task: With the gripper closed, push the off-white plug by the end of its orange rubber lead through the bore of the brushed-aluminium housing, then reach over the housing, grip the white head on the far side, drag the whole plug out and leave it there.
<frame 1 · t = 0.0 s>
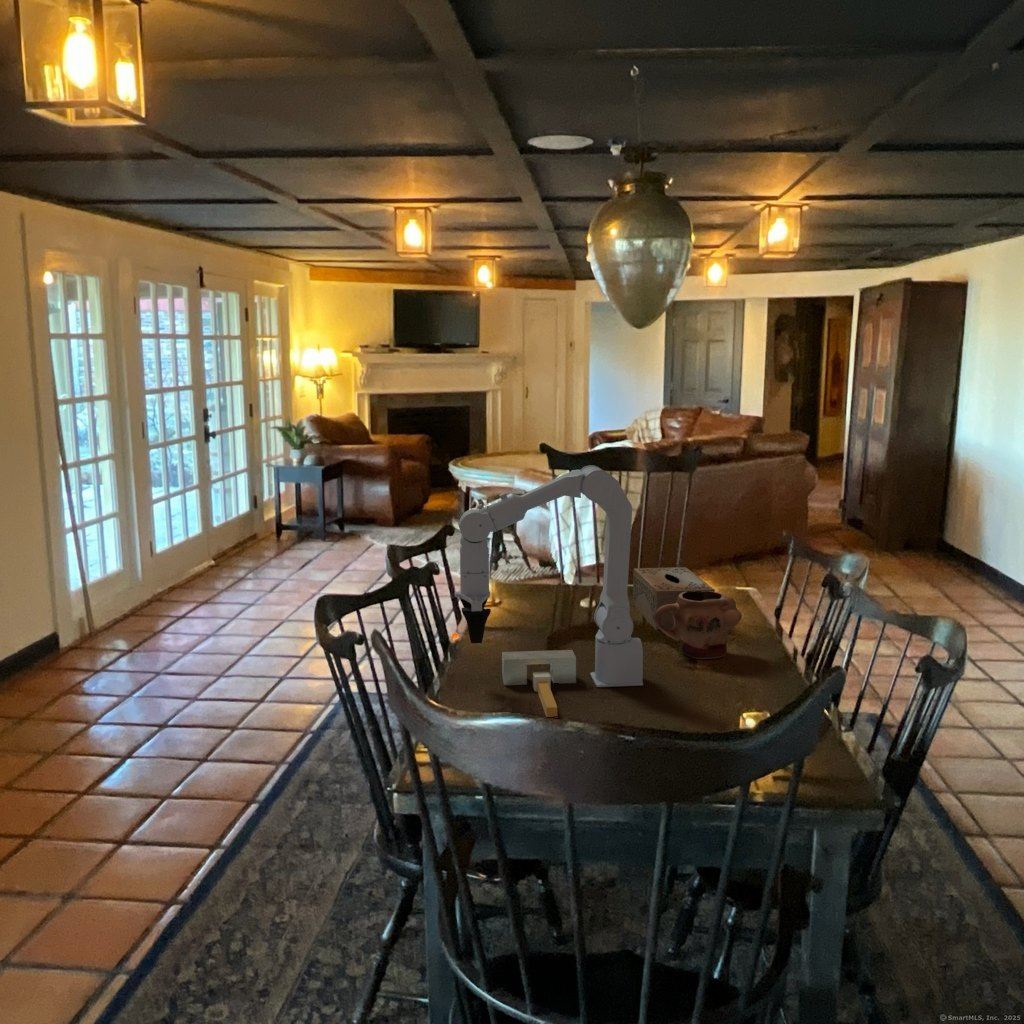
hand: (475, 637, 184), 10 cm above the table, fingers open, 7 cm apart
tissue box cover: (671, 617, 238), on the table
ceramic mug: (696, 655, 205), on the table
plug: (546, 701, 177), on the table
housing: (538, 680, 189), on the table
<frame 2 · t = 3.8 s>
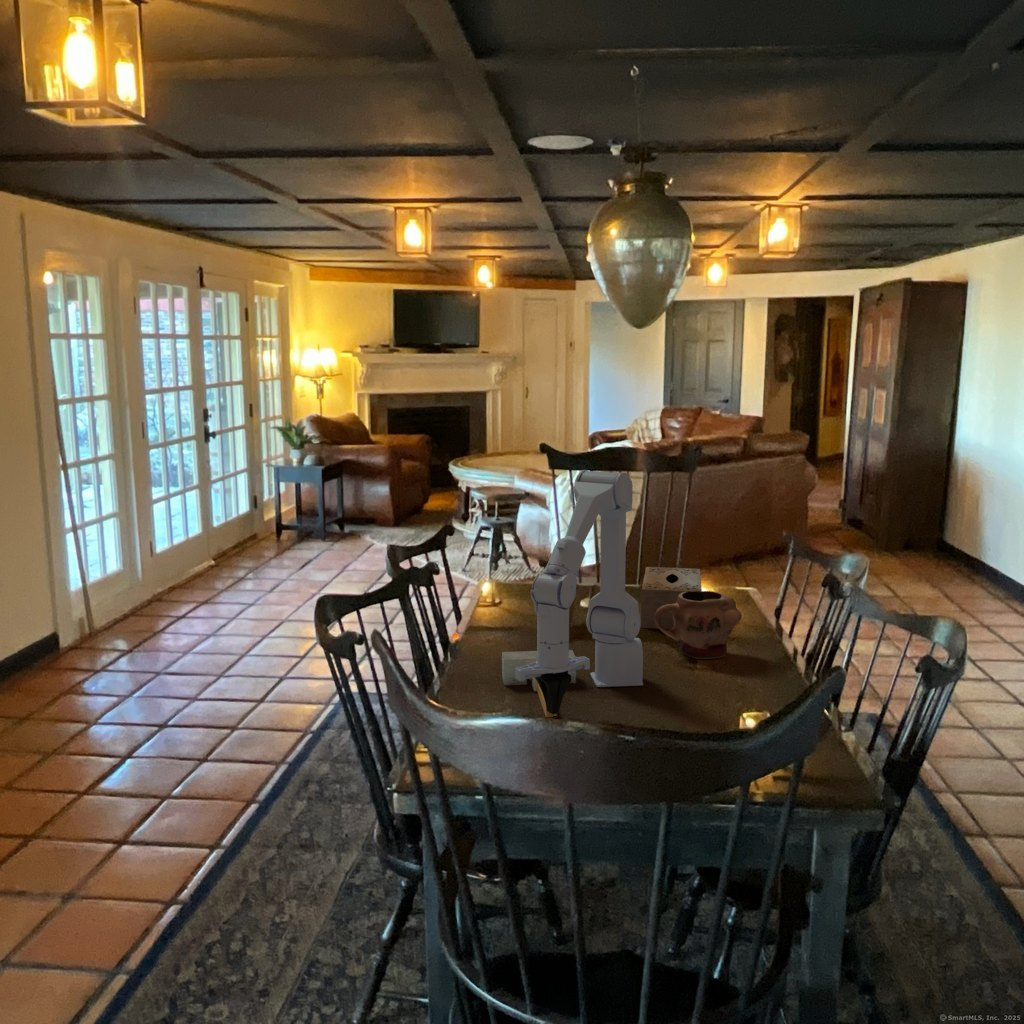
hand: (552, 712, 168), 1 cm above the table, fingers closed
plug: (545, 700, 177), on the table, touching gripper
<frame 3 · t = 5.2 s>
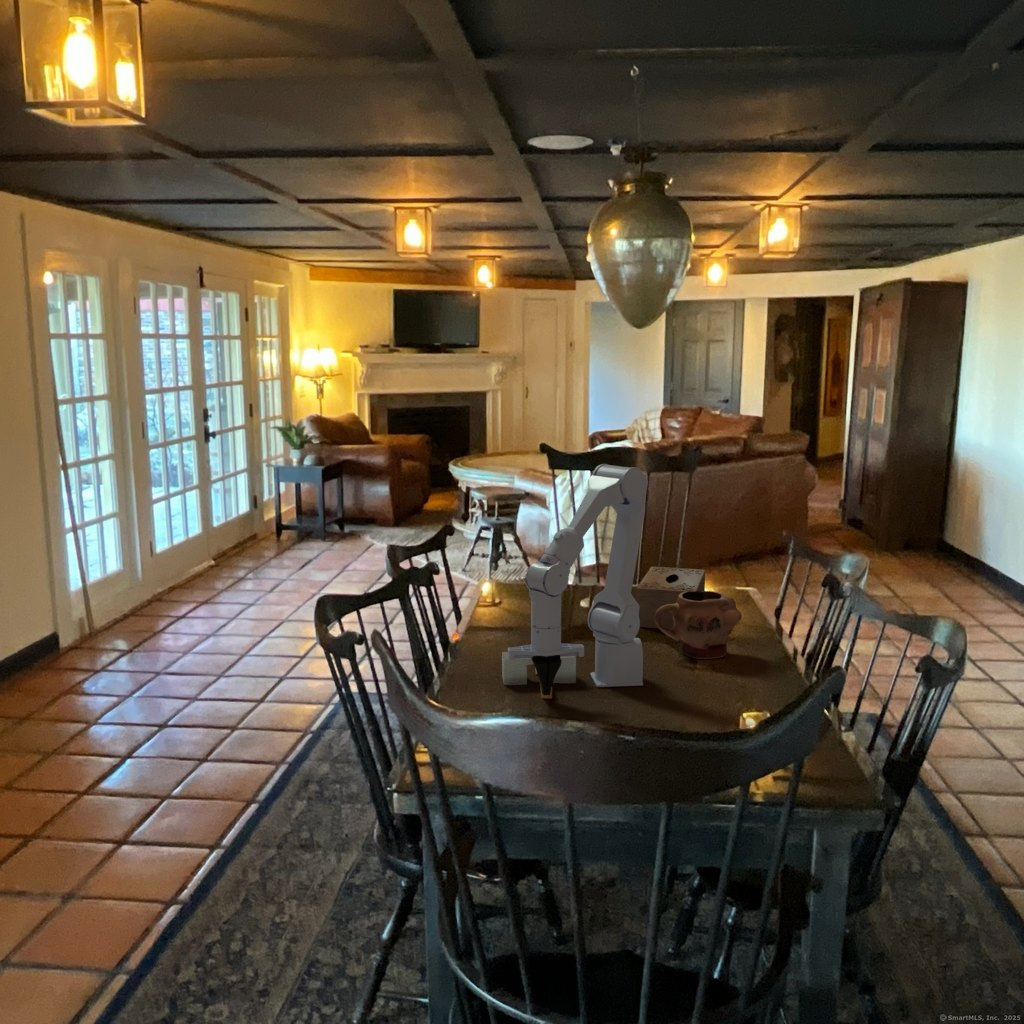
hand: (545, 693, 177), 1 cm above the table, fingers closed, pressing on plug
plug: (544, 683, 187), on the table, touching gripper
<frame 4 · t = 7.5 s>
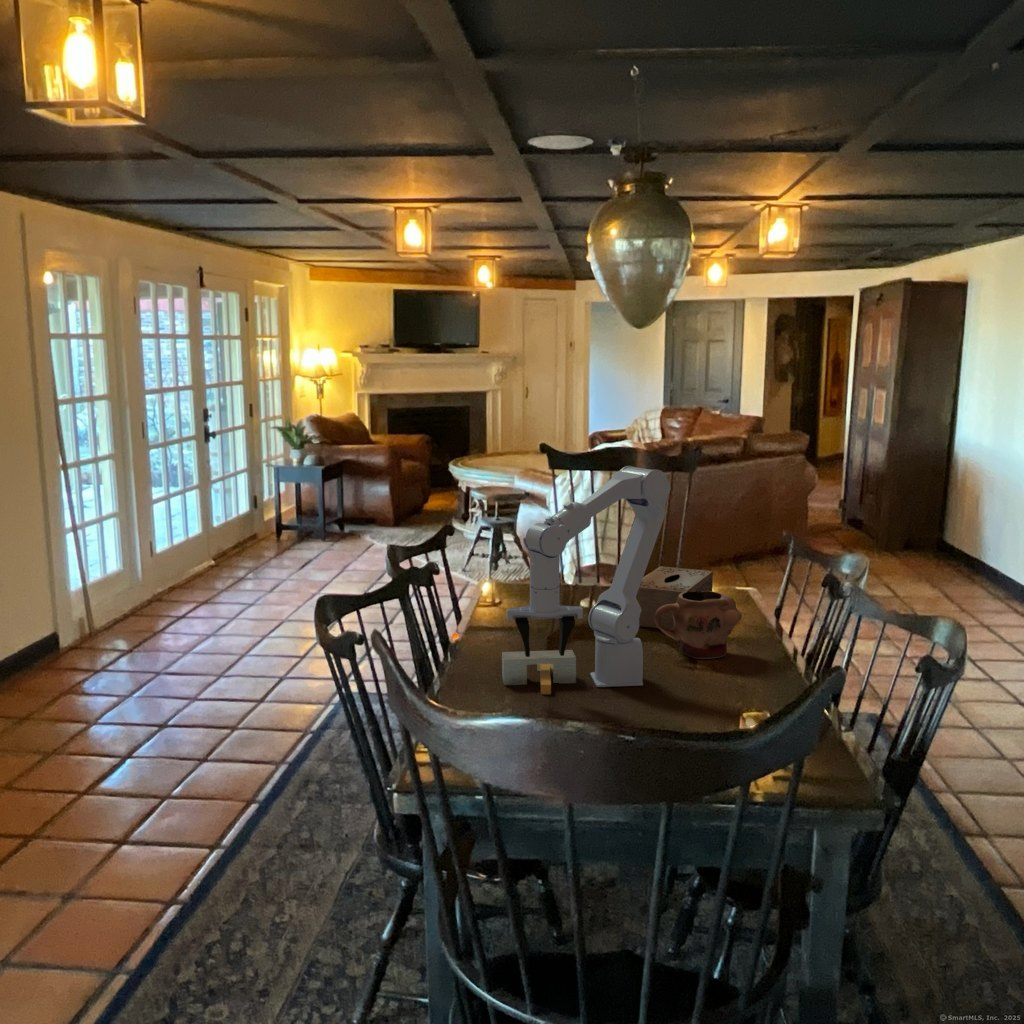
hand: (544, 654, 178), 8 cm above the table, fingers open, 6 cm apart
plug: (545, 680, 189), on the table
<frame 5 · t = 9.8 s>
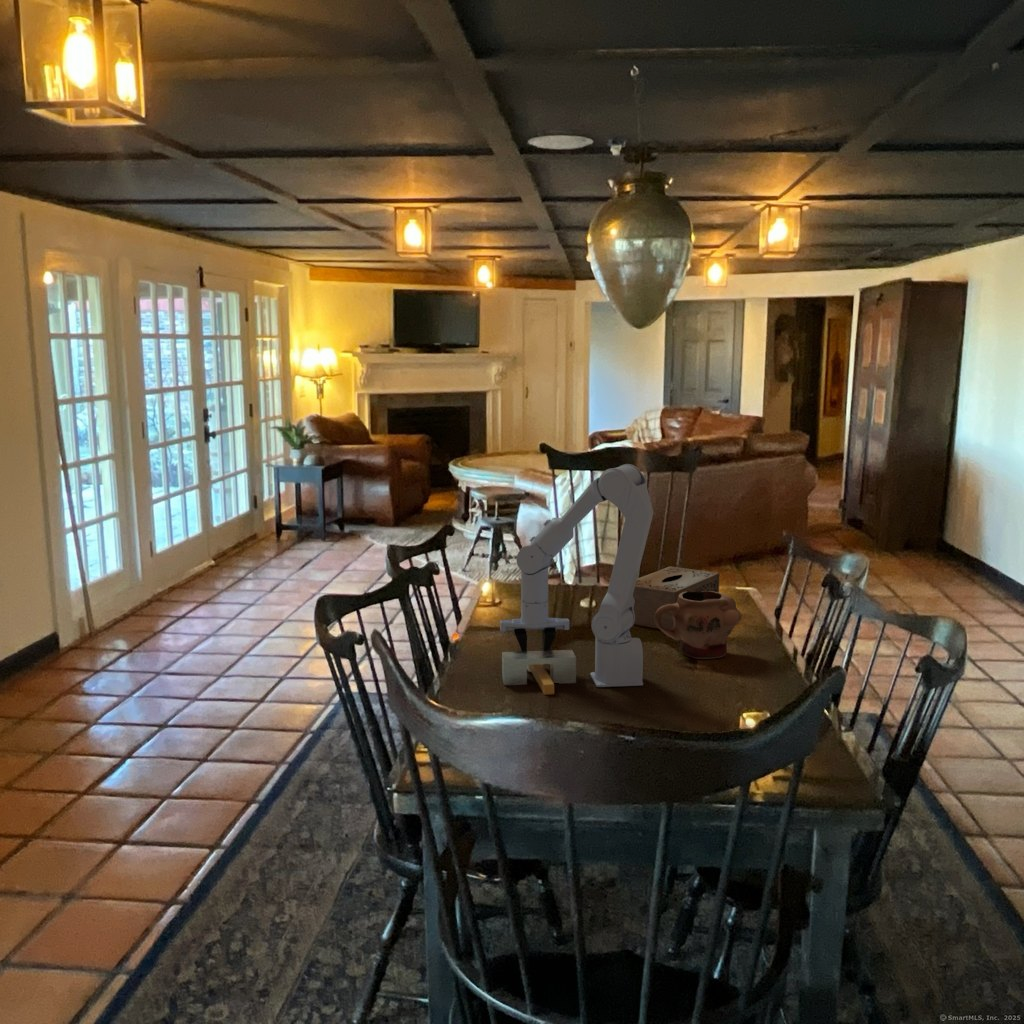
hand: (534, 662, 196), 1 cm above the table, fingers closed on plug, 3 cm apart
plug: (541, 679, 189), on the table, touching gripper
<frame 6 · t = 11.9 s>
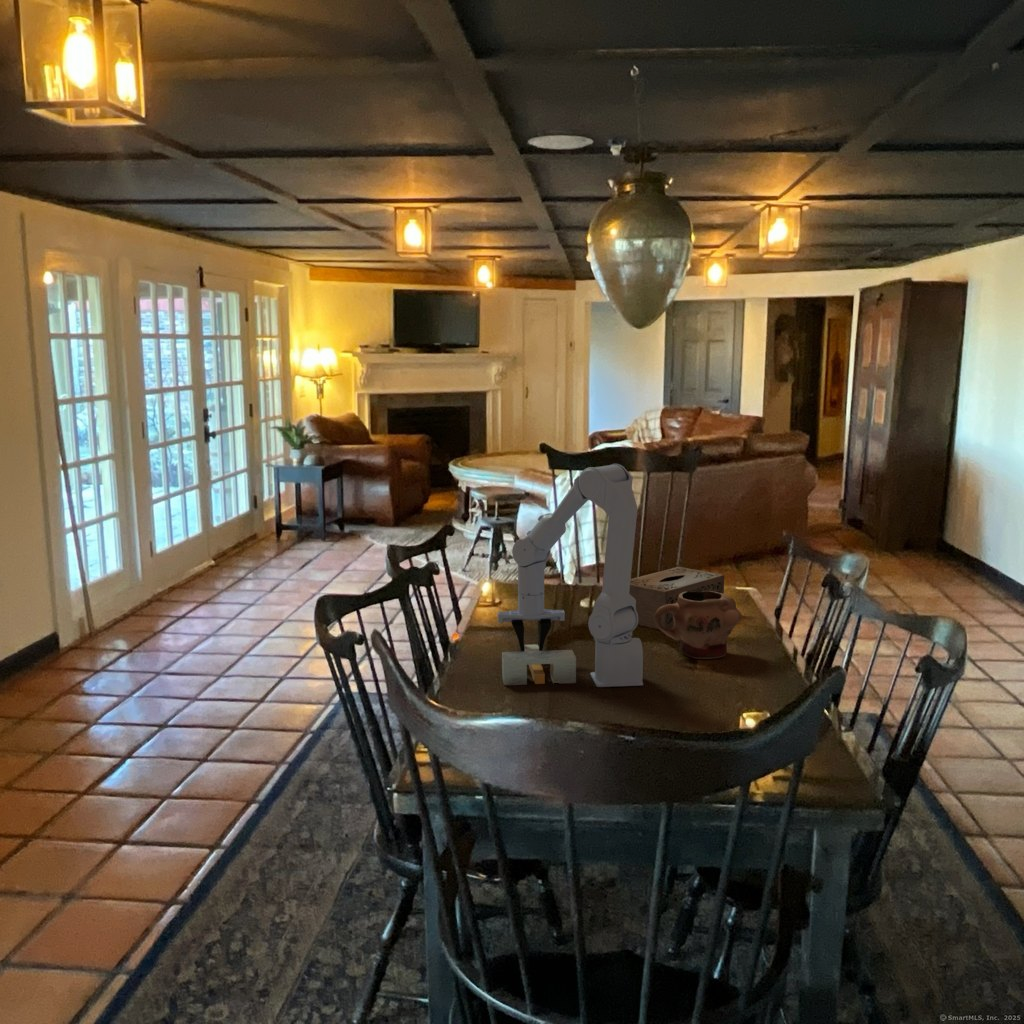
hand: (531, 652, 202), 2 cm above the table, fingers closed on plug, 3 cm apart
plug: (534, 670, 195), on the table, touching gripper
when the fingers open (2 cm above the table, at t = 14.4 s): plug stays where it is, on the table.
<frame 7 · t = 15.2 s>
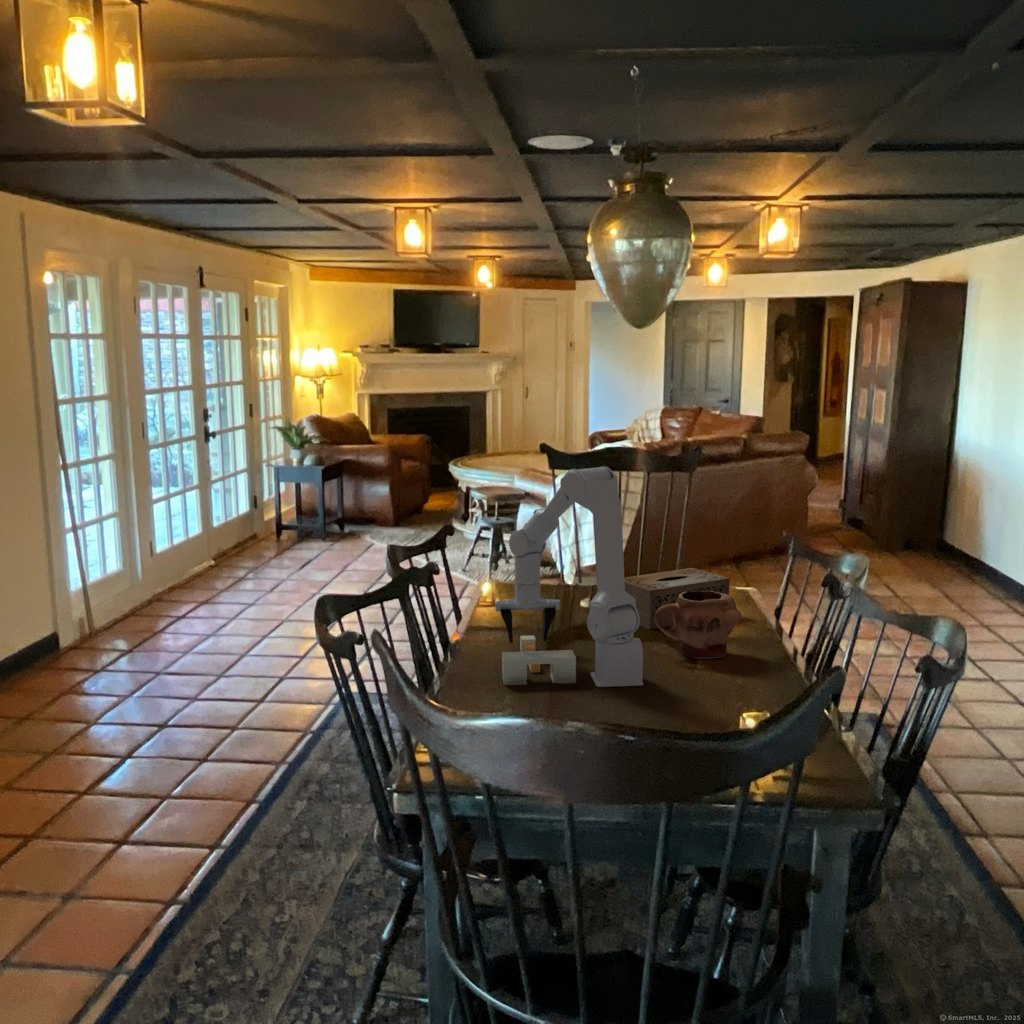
hand: (527, 640, 209), 2 cm above the table, fingers open, 7 cm apart
plug: (531, 660, 202), on the table
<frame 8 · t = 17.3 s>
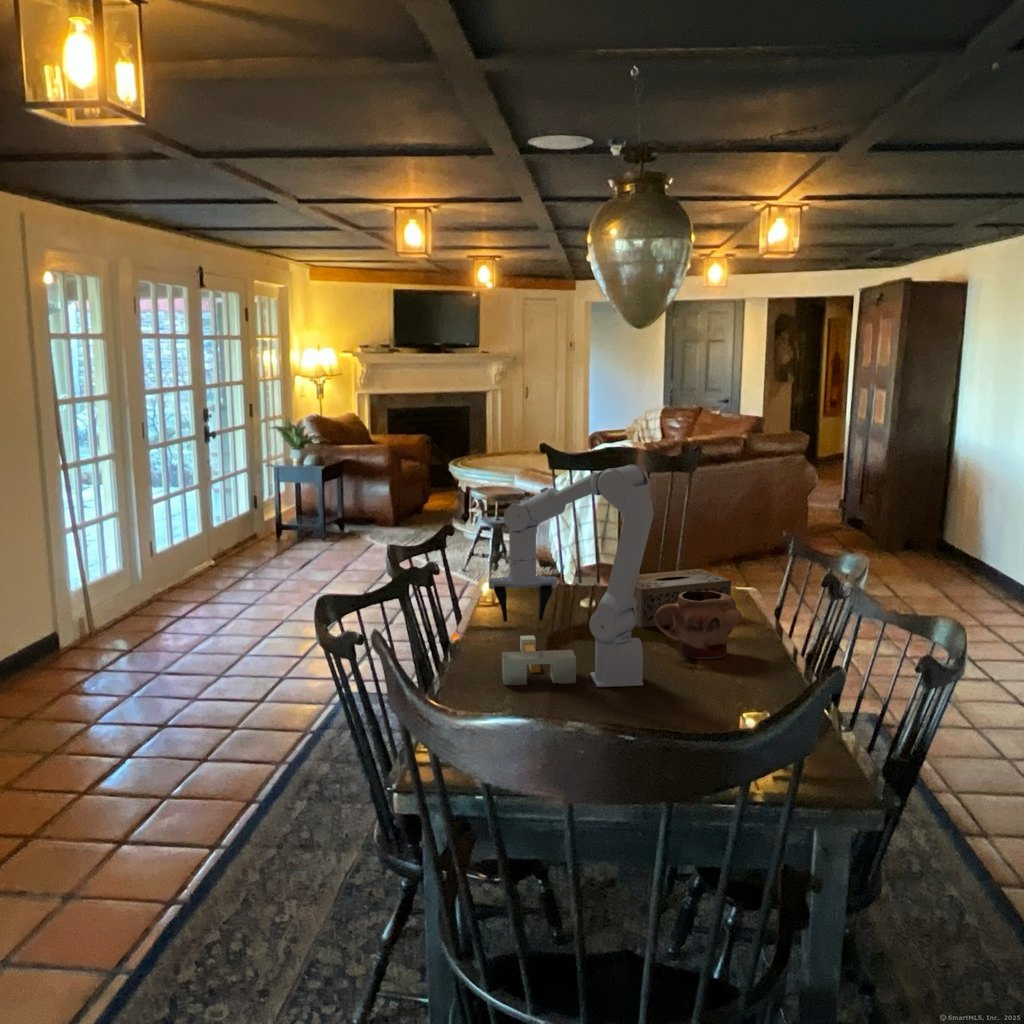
hand: (522, 620, 199), 9 cm above the table, fingers open, 7 cm apart
at the end: plug inside the target area (1.1 cm from its centre), on the table; plug touching table; the gripper is holding nothing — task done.
